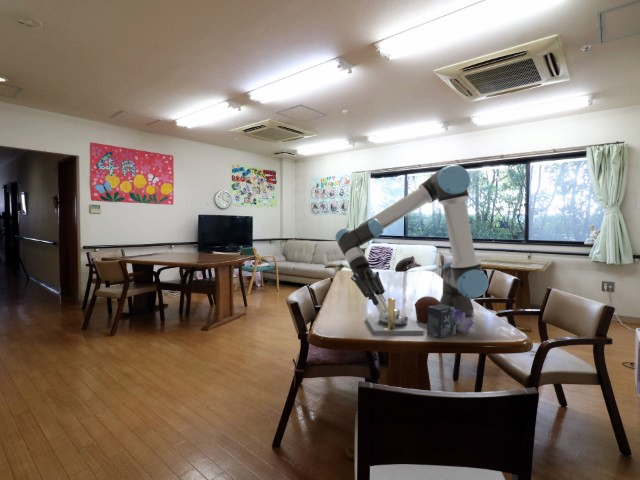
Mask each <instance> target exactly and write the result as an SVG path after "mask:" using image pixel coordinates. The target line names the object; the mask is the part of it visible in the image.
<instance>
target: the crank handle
mask: <svg viewBox="0 0 640 480" xmlns="http://www.w3.org/2000/svg"><path fill="white" fill-rule="evenodd" d="M387 302H388V303H387V306H388V311H387V312H386V313H384V312H383V313H382V314H380V313H379V314H378V317H379V322H381V323H383V324H387V325H388V329H390V330H393V329H394V327H395V326H399V325H405V324H407V322H408V317H409V316H407V315H406V314H403V313H400V309H399V308H396V299H395V298H394V297H389V298H388V299H387Z"/></svg>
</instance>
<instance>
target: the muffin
mask: <svg viewBox="0 0 640 480" xmlns="http://www.w3.org/2000/svg"><path fill="white" fill-rule="evenodd" d="M439 304H441V303H440V300H439V299H437V298H435V297H433V296H429V295H427V296H422V297H421V298H419V299H417V301H416V302H415V303H414V308H415V317H416V320H417V322H418V323H420V324H424V325H427V322H428V306H434V305H439Z"/></svg>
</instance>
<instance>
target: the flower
mask: <svg viewBox="0 0 640 480" xmlns="http://www.w3.org/2000/svg"><path fill="white" fill-rule="evenodd" d="M473 325H474V320H472V318H471V317H469V318H468V316H465V312H464V313H461V311H459V310H458V311H457V310H455V308H454V320H453V336H454V335H456V334H457V332H460V333H462V332H466V333H468V331H469V329H471V327H473ZM456 336H457V335H456Z"/></svg>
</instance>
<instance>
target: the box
mask: <svg viewBox="0 0 640 480" xmlns="http://www.w3.org/2000/svg"><path fill="white" fill-rule="evenodd" d="M453 320H454V307H451V306H447V305H443V304H439V305H434V306H428V322H427V324H426V326H427V327H426V329H427V330H426V335H427V336H429V337H432V338H435V339H437V338H438V339H437V340H441V339H444V338H447V337H448V338H449V337H451V336H454V333H453Z"/></svg>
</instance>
